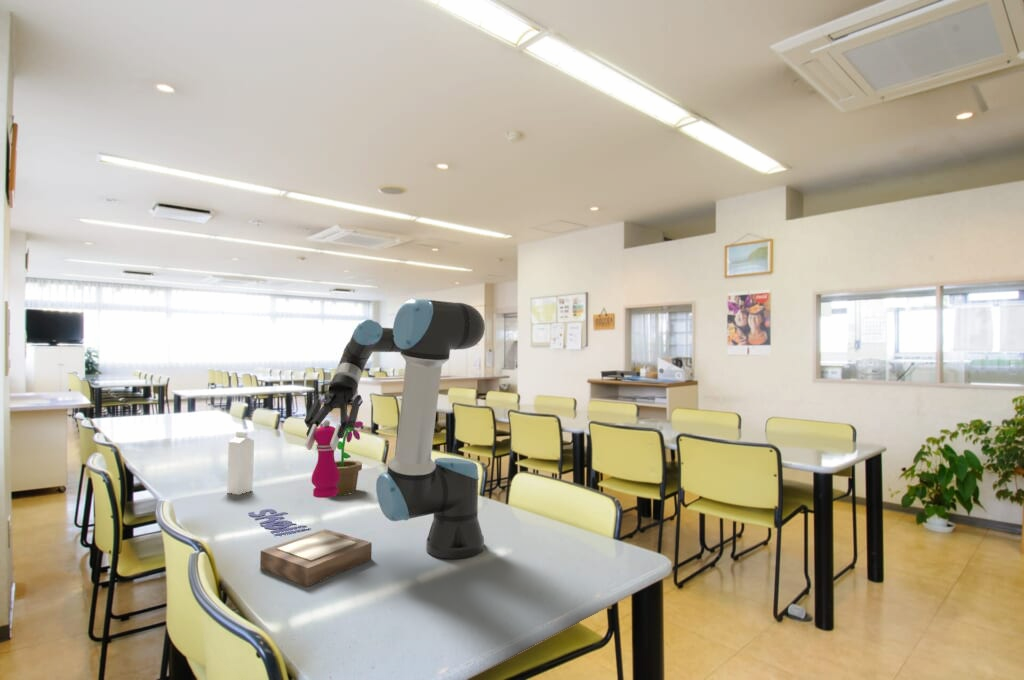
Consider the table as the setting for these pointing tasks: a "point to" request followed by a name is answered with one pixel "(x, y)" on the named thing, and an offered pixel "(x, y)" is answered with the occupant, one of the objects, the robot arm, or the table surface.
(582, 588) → the table surface
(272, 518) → the signage
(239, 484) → the milk
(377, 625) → the table surface
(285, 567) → the walnut stand
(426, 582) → the table surface
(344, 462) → the flowerpot
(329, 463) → the pepper mill
